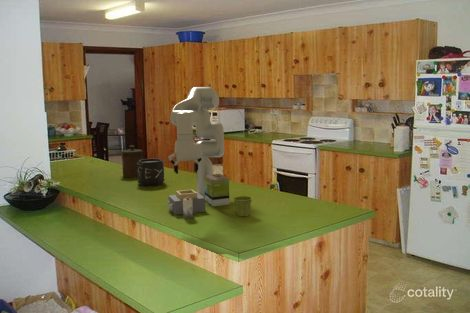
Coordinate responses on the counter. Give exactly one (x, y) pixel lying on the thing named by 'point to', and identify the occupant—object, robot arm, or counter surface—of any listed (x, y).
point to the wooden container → (131, 161)
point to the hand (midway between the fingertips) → (186, 172)
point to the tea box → (216, 189)
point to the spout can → (187, 208)
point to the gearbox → (177, 200)
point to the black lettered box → (150, 172)
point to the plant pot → (243, 205)
